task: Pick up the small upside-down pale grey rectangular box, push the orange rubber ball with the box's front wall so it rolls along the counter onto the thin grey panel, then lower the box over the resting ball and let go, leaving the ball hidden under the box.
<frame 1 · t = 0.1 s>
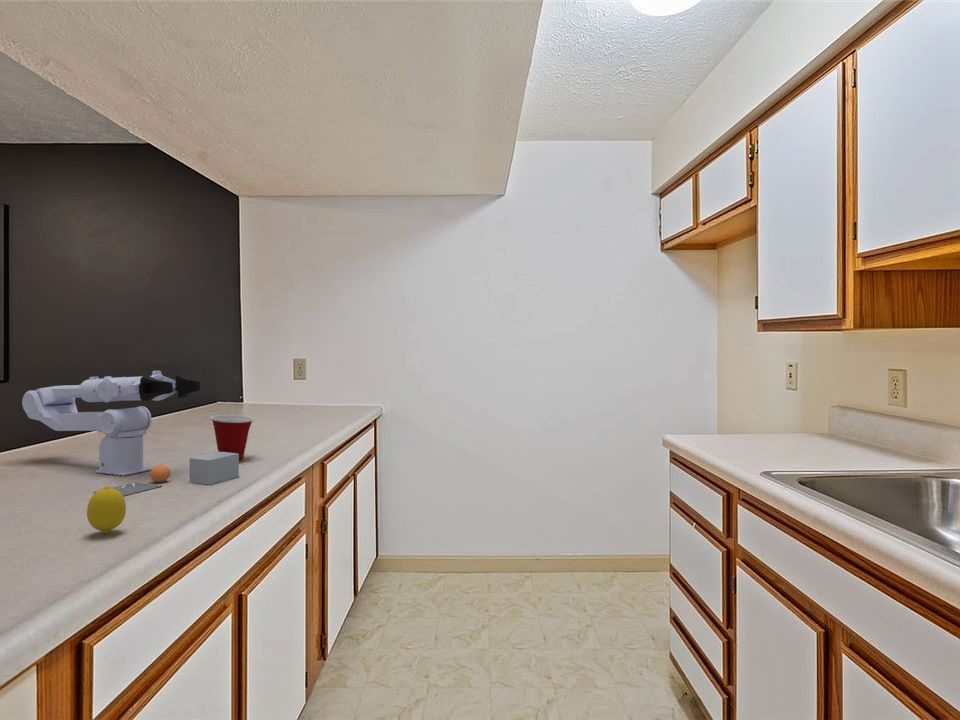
hand: (185, 386, 139), 22 cm above the countertop, tool horizontal, fingers open, 7 cm apart
thin grey panel: (128, 489, 129), on the countertop
ball: (160, 473, 137), on the countertop
plastic cup: (232, 461, 162), on the countertop
pale grey rectangular box: (214, 479, 140), on the countertop
lemon: (106, 534, 100), on the countertop
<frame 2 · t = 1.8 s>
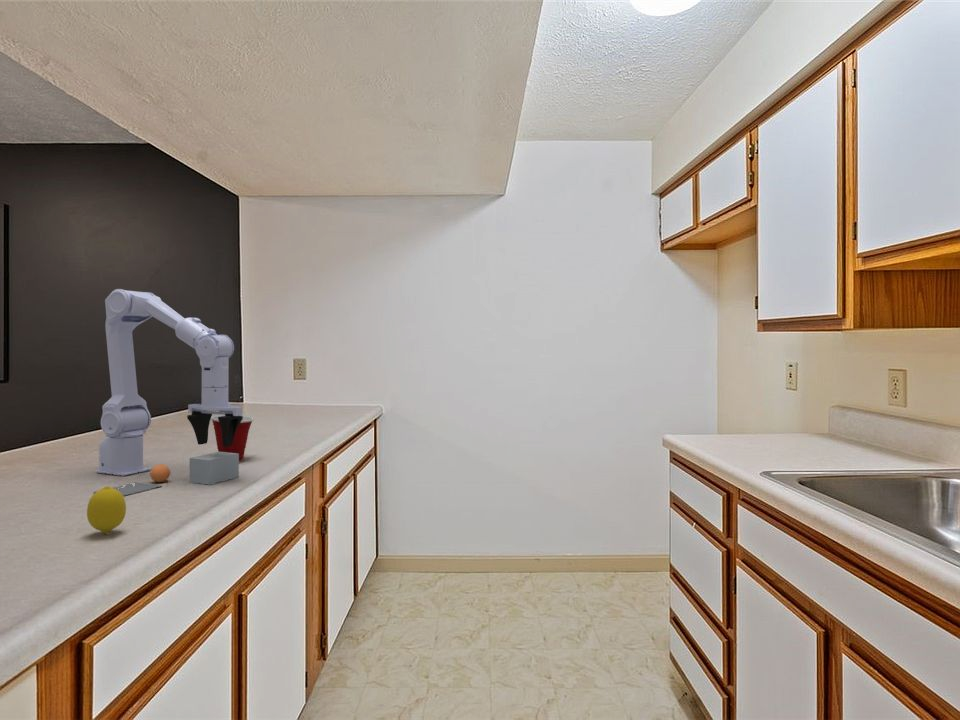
hand: (214, 445, 140), 8 cm above the countertop, tool pointing down, fingers open, 7 cm apart
nothing on the countertop moved.
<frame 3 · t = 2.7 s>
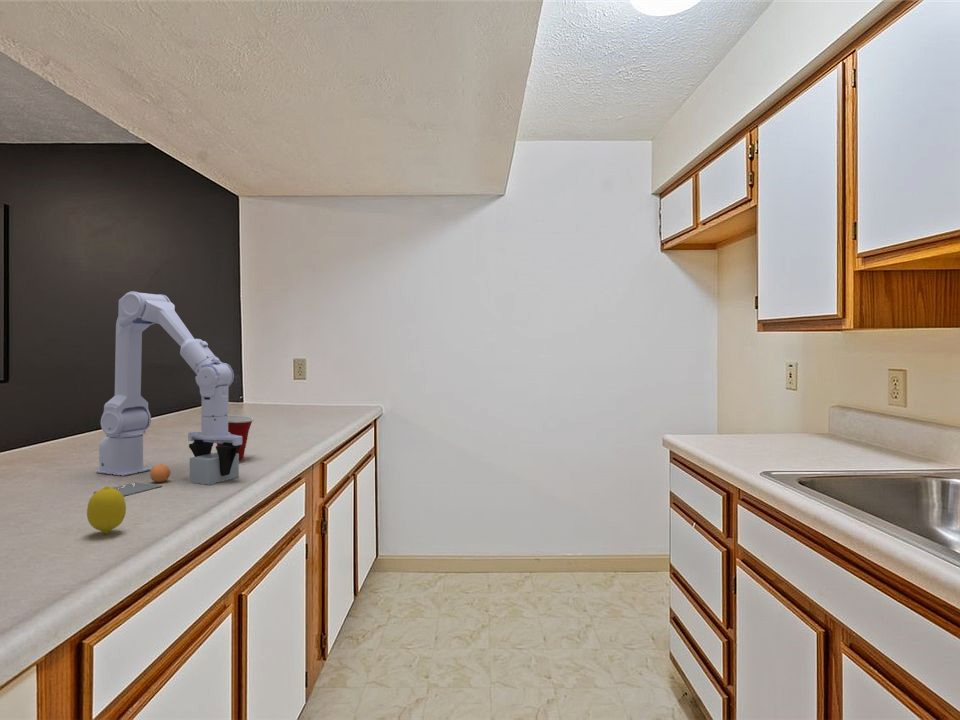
hand: (214, 473, 140), 1 cm above the countertop, tool pointing down, fingers closed on pale grey rectangular box, 6 cm apart
pale grey rectangular box: (214, 479, 140), on the countertop, touching gripper
everything else where it was.
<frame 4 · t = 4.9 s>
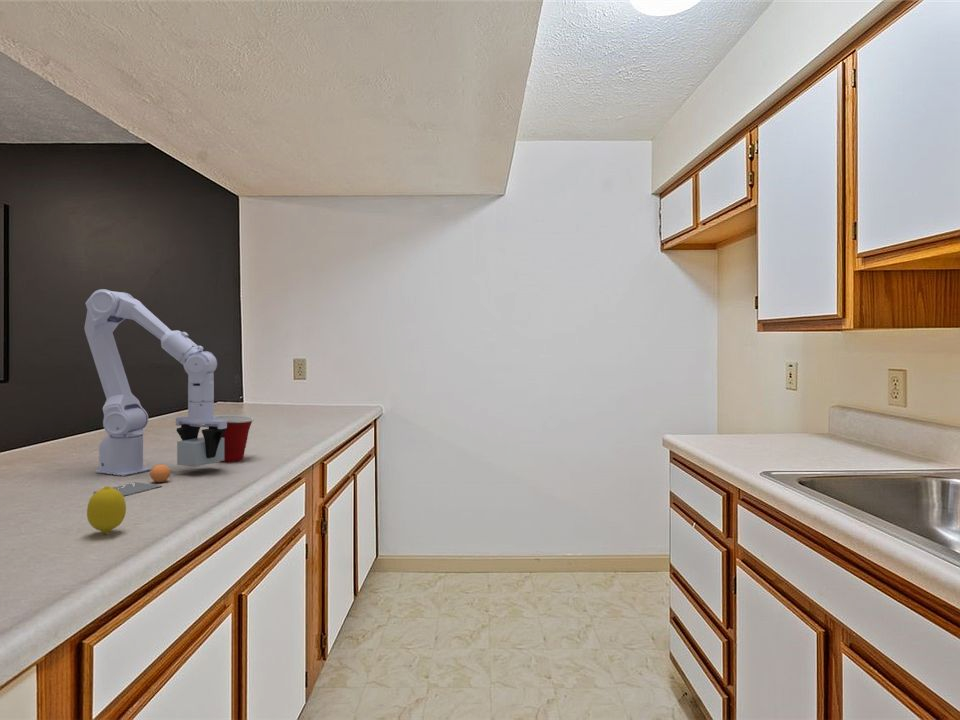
hand: (201, 456, 147), 4 cm above the countertop, tool pointing down, fingers closed on pale grey rectangular box, 6 cm apart
pale grey rectangular box: (201, 462, 147), point 2 cm above the countertop, touching gripper
everything else where it was.
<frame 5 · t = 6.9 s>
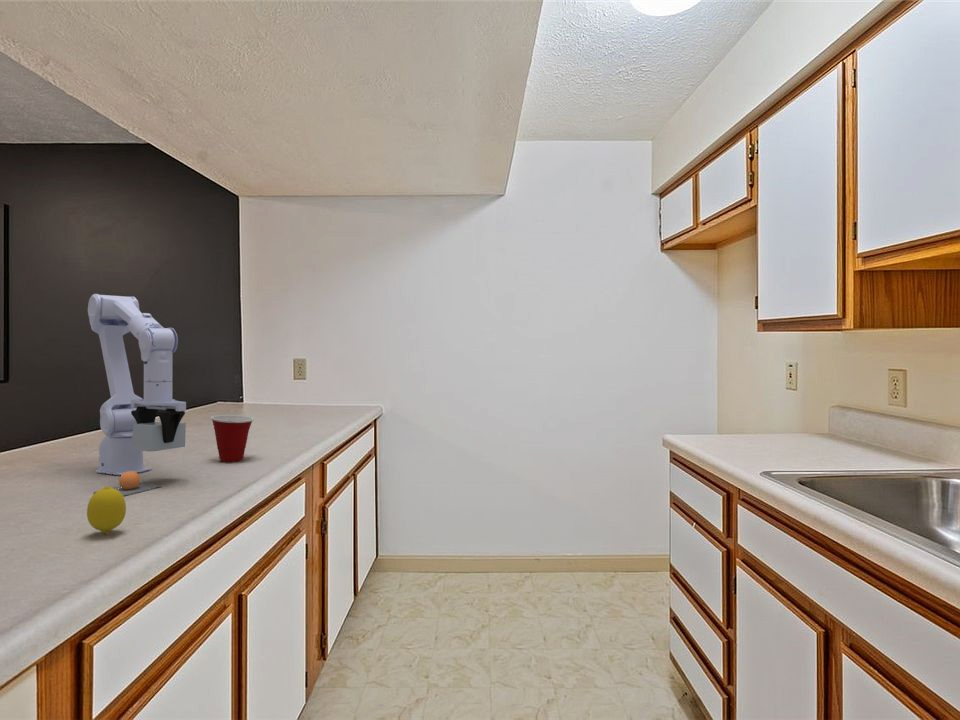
hand: (158, 441, 136), 9 cm above the countertop, tool pointing down, fingers closed on pale grey rectangular box, 6 cm apart
ball: (129, 480, 129), on the countertop
pale grey rectangular box: (159, 448, 136), point 8 cm above the countertop, touching gripper
everything else where it was.
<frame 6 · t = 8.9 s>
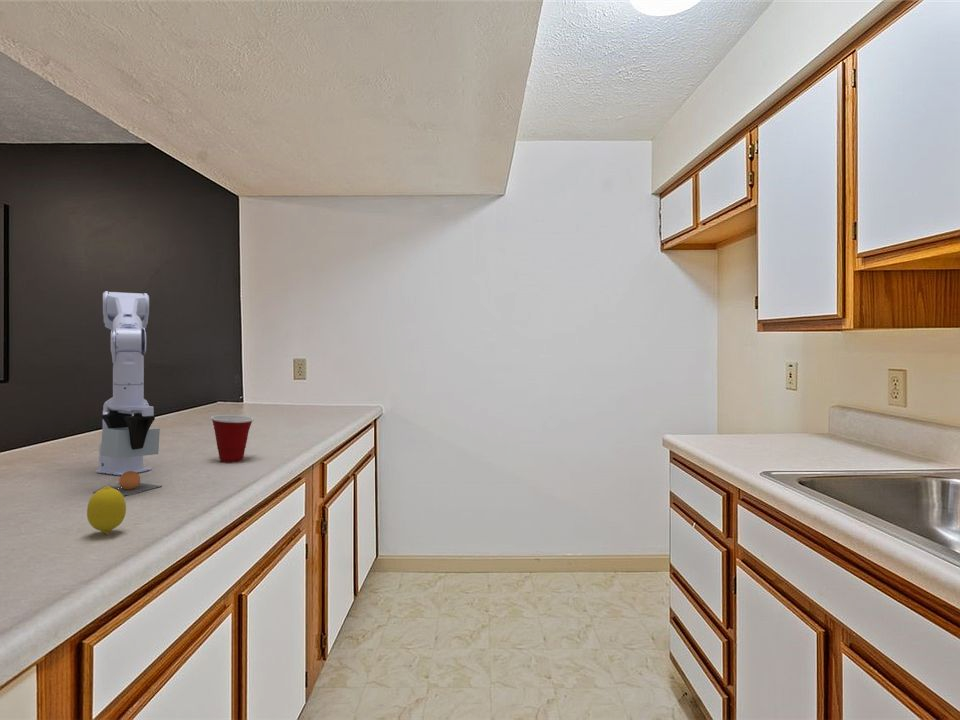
hand: (128, 447, 129), 9 cm above the countertop, tool pointing down, fingers closed on pale grey rectangular box, 6 cm apart
pale grey rectangular box: (130, 454, 129), point 8 cm above the countertop, touching gripper
everything else where it was.
when the fingers open (2 cm above the countertop, at t = 10.8 s): pale grey rectangular box stays where it is, on the countertop.
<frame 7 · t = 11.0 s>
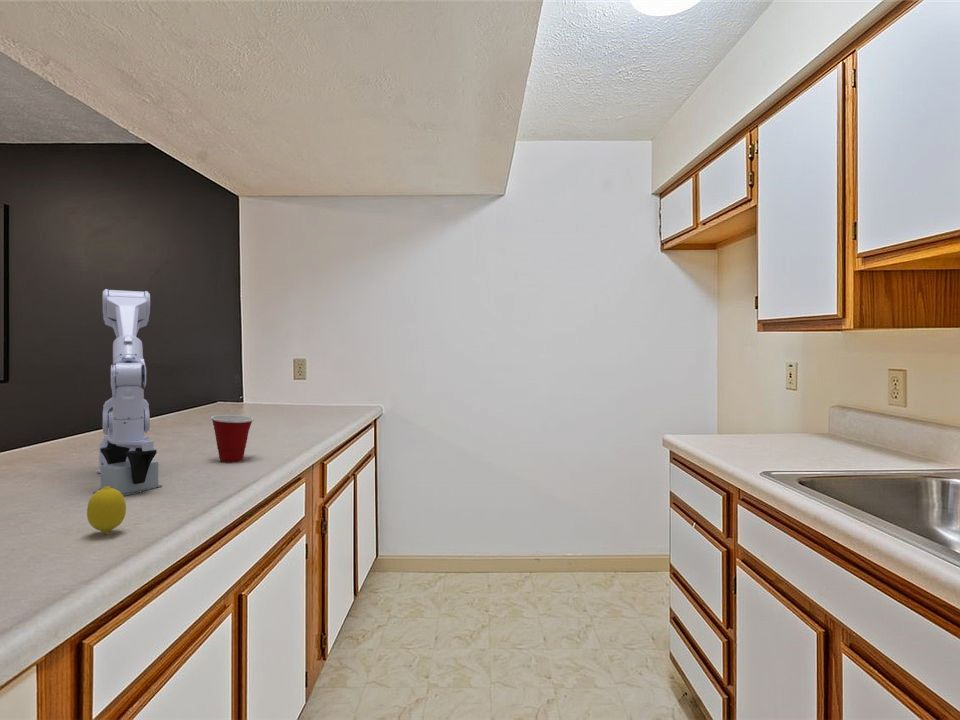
hand: (128, 481, 129), 2 cm above the countertop, tool pointing down, fingers open, 7 cm apart
pale grey rectangular box: (130, 489, 130), on the countertop
everything else where it was.
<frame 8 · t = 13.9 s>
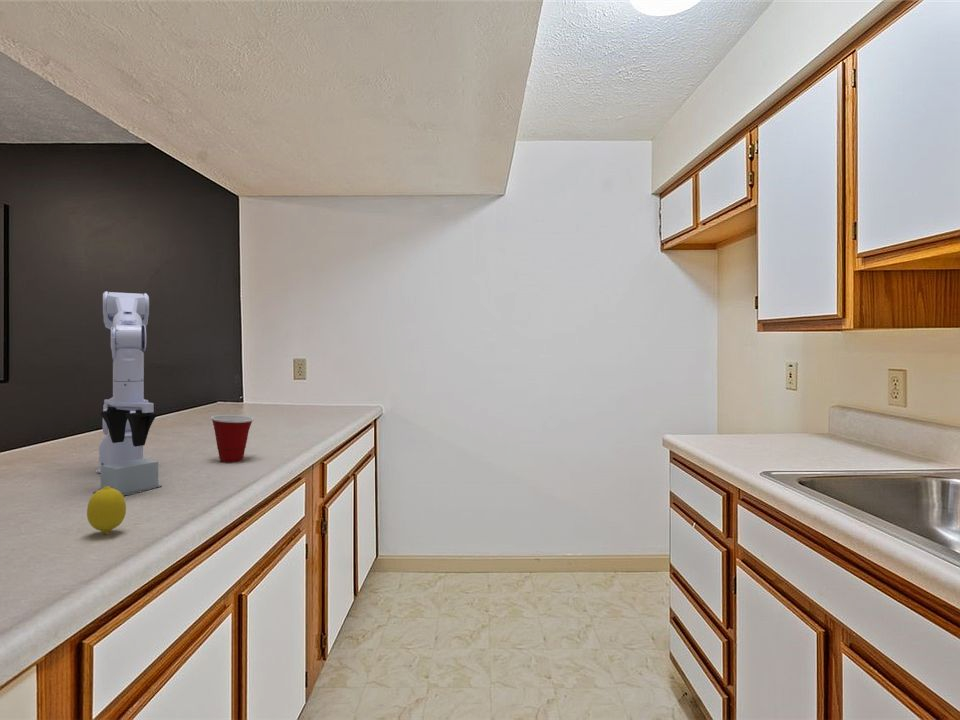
hand: (128, 444, 129), 10 cm above the countertop, tool pointing down, fingers open, 7 cm apart
nothing on the countertop moved.
at the end: ball 0.2 cm from the pale grey rectangular box (horizontally); pale grey rectangular box on the countertop; ball moved 7.8 cm from its start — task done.
